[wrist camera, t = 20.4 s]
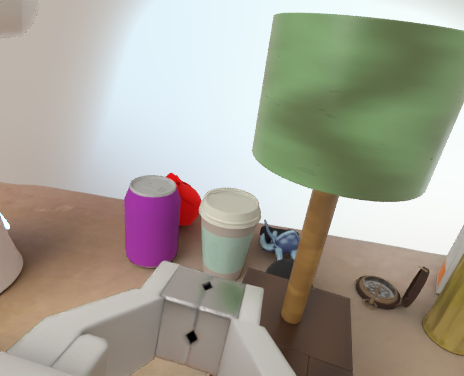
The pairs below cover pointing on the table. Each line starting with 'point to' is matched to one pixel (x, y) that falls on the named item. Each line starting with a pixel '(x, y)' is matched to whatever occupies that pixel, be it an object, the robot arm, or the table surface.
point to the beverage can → (151, 220)
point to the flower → (186, 201)
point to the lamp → (347, 149)
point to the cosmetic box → (450, 262)
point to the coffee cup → (227, 230)
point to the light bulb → (281, 268)
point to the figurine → (279, 241)
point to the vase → (449, 314)
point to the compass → (389, 290)
